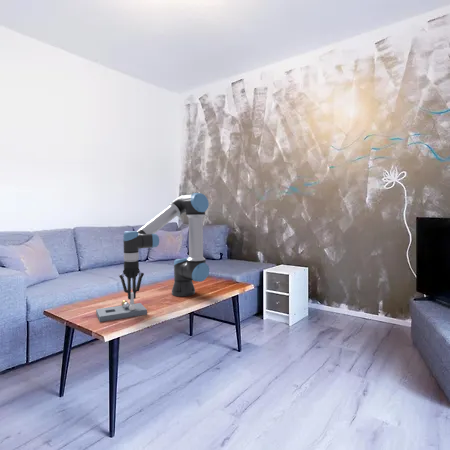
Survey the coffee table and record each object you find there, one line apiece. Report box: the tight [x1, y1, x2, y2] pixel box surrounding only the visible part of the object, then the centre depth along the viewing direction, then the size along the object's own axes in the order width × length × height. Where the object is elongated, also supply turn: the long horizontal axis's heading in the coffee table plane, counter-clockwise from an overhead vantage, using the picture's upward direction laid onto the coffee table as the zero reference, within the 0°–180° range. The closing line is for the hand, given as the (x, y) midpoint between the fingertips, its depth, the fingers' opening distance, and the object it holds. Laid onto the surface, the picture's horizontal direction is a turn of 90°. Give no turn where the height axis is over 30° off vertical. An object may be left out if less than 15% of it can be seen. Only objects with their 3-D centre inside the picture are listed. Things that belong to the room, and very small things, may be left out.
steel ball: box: [123, 301, 130, 309], centre depth 166 cm, size 3×3×3 cm
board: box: [95, 302, 148, 323], centre depth 165 cm, size 23×14×2 cm, turn 118°
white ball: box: [129, 303, 136, 311], centre depth 163 cm, size 3×3×3 cm
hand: (131, 304), depth 168 cm, fingers closed
